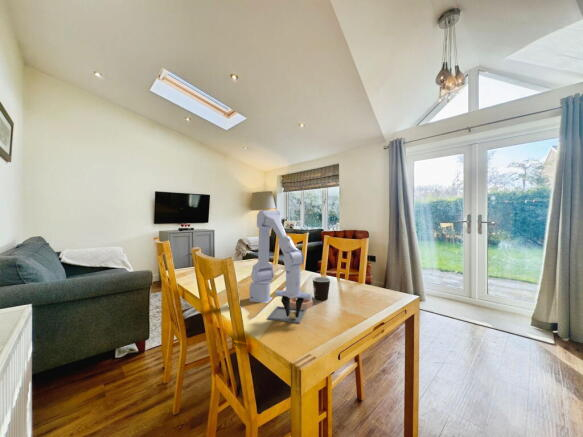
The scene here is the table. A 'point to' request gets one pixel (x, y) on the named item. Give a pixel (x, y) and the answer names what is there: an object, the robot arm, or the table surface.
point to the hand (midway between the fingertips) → (292, 315)
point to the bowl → (305, 304)
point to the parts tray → (280, 315)
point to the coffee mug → (321, 288)
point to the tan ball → (292, 314)
